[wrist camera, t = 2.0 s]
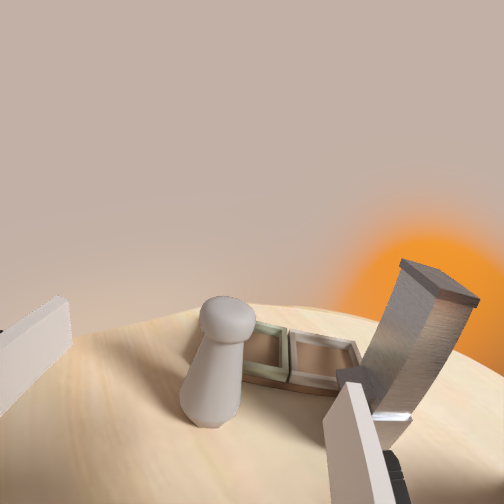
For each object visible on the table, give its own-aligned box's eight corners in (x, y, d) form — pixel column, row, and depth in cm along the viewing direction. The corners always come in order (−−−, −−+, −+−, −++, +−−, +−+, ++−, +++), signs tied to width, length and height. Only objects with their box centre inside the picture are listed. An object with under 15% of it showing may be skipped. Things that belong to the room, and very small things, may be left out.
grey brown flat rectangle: (350, 353, 41) (355, 340, 40) (365, 399, 30) (374, 386, 30) (212, 323, 41) (215, 310, 41) (193, 368, 31) (195, 352, 30)
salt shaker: (167, 400, 25) (179, 289, 21) (215, 388, 28) (239, 284, 25) (196, 443, 21) (218, 331, 17) (246, 424, 24) (283, 318, 21)
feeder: (368, 407, 29) (438, 268, 24) (382, 455, 21) (483, 300, 16) (312, 402, 29) (377, 250, 24) (318, 455, 21) (414, 282, 16)
